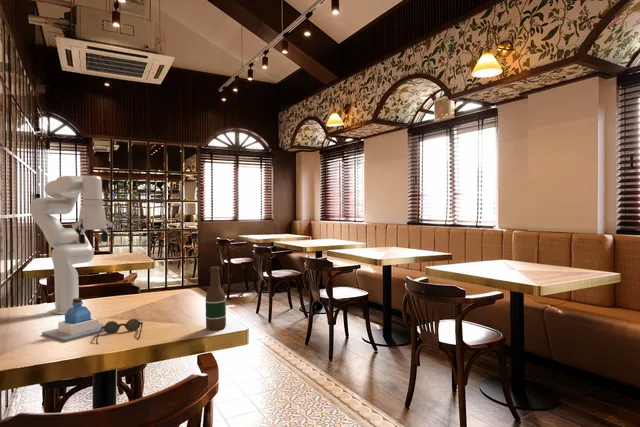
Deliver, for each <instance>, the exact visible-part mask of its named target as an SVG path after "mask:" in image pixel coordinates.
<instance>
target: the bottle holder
mask: <svg viewBox="0 0 640 427" xmlns="http://www.w3.org/2000/svg"><path fill="white" fill-rule="evenodd" d="M57 323H58V324H57V325H58V328H55V329H50V330H47V331H42V332H41V334H42V336H45V337H46V338H51V339H54V340H57V341H60V342H63V343H68V342H71V341H75V340H80V339H83V338H86V337H90V336H95V335H97V334H98V332H99V330H100V329H101V327H102V326H105V325H106V324H104V323H100V322H99V319H98V318H95V317H91V320H90V321H85V322H81V323H77V324H69V323H65V320H61V321H58V322H57ZM102 333H107V332H106V331H105V330H104V329H102V330H101V332H100V334H102Z"/></svg>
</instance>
